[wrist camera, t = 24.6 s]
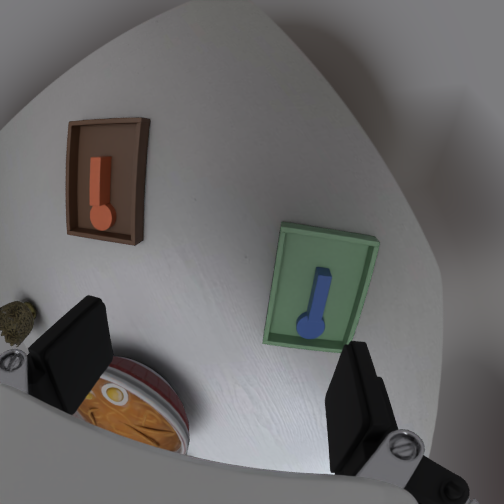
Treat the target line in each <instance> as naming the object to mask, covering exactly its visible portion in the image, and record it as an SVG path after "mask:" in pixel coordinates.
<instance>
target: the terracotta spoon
mask: <svg viewBox="0 0 504 504" xmlns="http://www.w3.org/2000/svg"><path fill="white" fill-rule="evenodd" d="M111 159H112V157H111V156H99V157H91V162H90V206H93V207H92V209H91V211H90V220H91V223H92V224H93V226H94V227H95V228H96V229H98V230H101V231H104V230H107V229H109V228H111V227H112V226H113V225H114V224H115V221H116V211H115V209H114V207H113V206H112V205H111V204H110V181H111Z"/></svg>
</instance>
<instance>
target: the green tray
mask: <svg viewBox="0 0 504 504" xmlns="http://www.w3.org/2000/svg"><path fill="white" fill-rule="evenodd" d="M379 245H380V242H379V241H378V240H377V239H376V238H375V237H374V236H369V235H363V234H357V233H351V232H345V231H339V230H333V229H327V228H321V227H314V226H308V225H301V224H295V223H288V222H281V227H280V234H279V241H278V248H277V254H276V261H275V267H274V274H273V280H272V286H271V293H270V299H269V305H268V311H267V317H266V323H265V329H264V335H263V343H262V344H268V345H275V346H282V347H289V348H297V349H306V350H314V351H324V352H334V353H341V352H342V349H343V347H344V345H345V344H349V342H350V341H352V339H353V336H354V333H355V330H356V327H357V324H358V321H359V318H360V314H361V311H362V308H363V305H364V301H365V298H366V294H367V291H368V287H369V284H370V280H371V277H372V273H373V269H374V265H375V261H376V257H377V253H378V249H379ZM316 267H322V268H329V270H330V272H331V275H332V280H331V284H330V288H329V292H328V297H327V301H326V305H325V309H324V313H323V316H322V317H323V318H324V323H325V329H324V332H323V333H322V334H321V335H320V336H319V337H317V338H314V339H305V338H303V337H301V336H300V335H299V334H298V332H297V330H296V321H297V318H298V317H299V316H300V315H301V314H302V313H304V312H306V311H307V308H308V303H309V299H310V294H311V290H312V285H313V280H314V275H315V271H316Z"/></svg>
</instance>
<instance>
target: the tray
mask: <svg viewBox="0 0 504 504" xmlns="http://www.w3.org/2000/svg"><path fill="white" fill-rule="evenodd" d="M149 126H150V119H147V118H110V119H94V120H81V121H70V122H69V125H68V138H67V154H66V223H67V234H68V235H74V236H79V237H85V238H91V239H97V240H104V241H110V242H116V243H122V244H128V245H134V246H135V245H137V244H138V243H140V242H141V241H143V225H144V192H145V174H146V159H147V147H148V136H149ZM99 156H111V157H112V159H111V181H110V204H111V205H112V206H113V207H114V209H115V211H116V221H115V224H114V225H113V226H112V227H111V228H109V229H107V230H104V231H101V230H98V229H96V228H95V227H94V226H93V224H92V223H91V220H90V211H91V209H92V207H93V206H90V162H91V157H99Z"/></svg>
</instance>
